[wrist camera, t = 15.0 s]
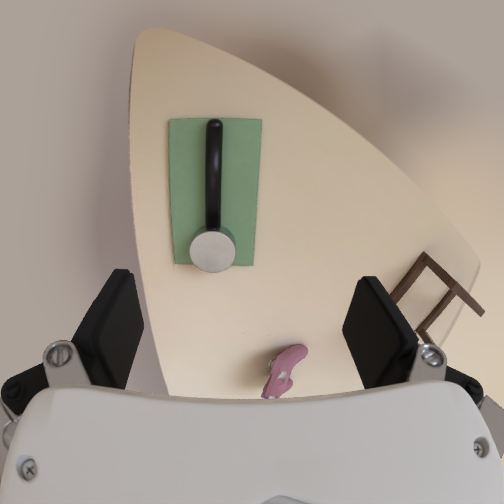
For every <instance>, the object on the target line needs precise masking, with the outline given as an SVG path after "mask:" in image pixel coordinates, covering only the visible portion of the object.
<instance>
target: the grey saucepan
mask: <svg viewBox="0 0 504 504" xmlns="http://www.w3.org/2000/svg"><path fill="white" fill-rule="evenodd" d="M222 144H223V123H222V121H221V120H219V119H217V118H213V119H210V120H209V121H208V122H207V124H206V144H205V226H203V227H201V228H200V229H199V230H197V232H196V233H195V234H194V236H193V239H192V242H191V245H190V257H191V260H192V261H193V263H194V264H195V265H196V266H197V267H198V268H199V269H201V270H203V271H205V272H210V273H217V272H221V271H224V270H226V269H227V268H229V267H230V266H231V265H232V263H233V262H234V259H235V256H236V242H235V238H234V236H233V234H232V233H231V232H230V231H229V230H228V229H227V228H225V227H223V226H221V180H222Z"/></svg>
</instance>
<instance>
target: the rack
mask: <svg viewBox="0 0 504 504" xmlns="http://www.w3.org/2000/svg"><path fill="white" fill-rule="evenodd" d="M426 266H428V267H429V268H430V269H431V270H432V271H433V272H434V273H435V274H436V275H437V276H438V277H439V278H440V279H441V280H442V281H443V282H444V283H445V284H446V285H447V286H448V287H449V288H450V290H449V292H448V293H447V294H446V295H445V297H444V298H443V299H442V300H441V302H440V303H439V304H438V305H437V307H436V308H435V309H434V310H433V311H432V313H431V314H430V315H429V316H428V317H427V318H426V319H425V321H424V322H423V323H422V324H421V325H420V326H419V327H418V328H417V329H416V332H417V333H418V334H419V335H420V337H421V338H422V340H423V341H424V343H425V344H433V345H435V343H434V342H433V340H432V339H431V337H430V336H429V334H428V333H427V332H426V330H427V329H428V328H429V326H430V325H431V324H432V323H433V322H434V321H435V320H436V318H437V317H438V316H439V315H440V314H441V313H442V311H443V310H444V309H445V308H446V307H447V305H448V304H449V303H450V302H451V300H452V299H453V298H454V297H455V295H457V296H458V297H460V298H461V299H462V300H463V301H464V302H465V303H466V304H467V305H468V306H469V307H471V308H472V309H473V310H474V311H475V312H476V313H477V314H478V315H479V316H480V317H481V316H482V315H483V314H484V312H485V311H484V309H482V307H481V306H480V305H479V304H478V303H477V302H476V301H475V300H474V299H473V298H472V297H471V296H470V294H469V293H468V292H467V291H466V290H465V289H464V288H463V287H462V286H461V285H460V284H459V283H458V282H456V281H455V280H454V279H453V278H452V277H451V276H450V275H449V274H448V273H447V272H446V271H445V270H444V269H443V268H442V267H441V266H439V265H438V264H437V263H436V262H435V261H434V260H433V259H432V258H431V257H430V256H428V255H427V254H426V253H425V252H423V253H422V255H421V256H420V257H419V259H418V260H417V261H416V263H415V264H414V265H413V267H412V268H411V269H410V271H409V272H408V273H407V275H406V276H405V277H404V278H403V280H402V281H401V282H400V284H399V285H398V286H397V287H396V288H395V290H394V291H393V292H392V293H391V295H390V297H391V298H392V299H393V301H394V302H395V304H397V302H398V301H399V300H400V299H401V298H402V296H403V295H404V294H405V293H406V292H407V290H408V289H409V288H410V287H411V285H412V284H413V283H414V282H415V280H416V279H417V278H418V276H419V275H420V274H421V273H422V271H423V270H424V269H425V267H426ZM418 345H419V346H421V344H418ZM435 346H436V345H435Z"/></svg>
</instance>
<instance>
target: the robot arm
mask: <svg viewBox="0 0 504 504" xmlns="http://www.w3.org/2000/svg"><path fill="white" fill-rule="evenodd" d="M143 330H144V322H143V317H142V313H141V309H140V304H139V299H138V295H137V290H136V285H135V280H134V275H133V273H130V272H129V270H128V269H115V270H114V271H113V272H112V274H111V276H110V277H109V279H108V280H107V282H106V283H105V285H104V286H103V288H102V290H101V291H100V293H99V295H98V296H97V298H96V299H95V300H94V301H93V303H92V305H91V306H90V308H89V310H88V311H87V313H86V315H85V317H84V318H83V320H82V322H81V324H80V325H79V327H78V329H77V331H76V333H75V334H74V336H73V338H72V340H71V342H70V341H67V340H59V341H56V342H54V343H52V344H50V345H49V346H48V347H47V348H46V350H45V351H44V353H43V363H41V364H39V365H37V366H35V367H33V368H30V369H28V370H26V371H24V372H22V373H20V374H18V375H16V376H13V377H11V378H10V379H8V380H7V381H6V382H5V383H4V385H3V387H2V389H1V397H0V504H504V467H503V464H502V461H501V458H502V456H503V453H504V409H502V407H500V406H499V405H498V404H497V403H496V402H494V401H493V400H492V399H491V398H490V397H488V396H487V395H486V396H485V397H483V389H482V386H481V385H480V383H479V382H478V381H477V380H475V379H474V378H472V377H469V376H468V375H466V374H463V373H461V372H459V371H457V370H455V369H453V368H451V367H449V366H447V358H446V355H445V353H444V352H443V351H442V350H441V349H440V348H439V347H437V346H435V345H433V344H422V345H421V346H419V345H418V343H417V342H418V341H419V339H418V337H417V336H416V334H415V332H414V331H413V329H412V328H411V326H410V325H409V323H408V322H407V320H406V319H405V317H404V316H403V314H402V313H401V311H400V310H399V308H398V307H397V305H396V304H395V302H394V301H393V299H392V298H391V297H390V295H389V294H388V292H387V291H386V289H385V288H384V287H383V285H382V284H381V282H380V281H379V280H378V278H377V277H376V276H363V277H362V278H361V280H358V282H357V285H356V288H355V292H354V295H353V298H352V301H351V304H350V307H349V310H348V313H347V316H346V318H345V321H344V324H343V328H342V331H343V335H344V337H345V340H346V342H347V345H348V347H349V350H350V352H351V355H352V357H353V360H354V362H355V365H356V367H357V370H358V372H359V375H360V378H361V380H362V383H363V385H364V388H365V389H364V390H358V391H352V392H345V393H337V394H328V395H319V396H308V397H295V398H277V399H212V398H193V397H180V396H170V395H160V394H152V393H143V392H135V391H129V390H125V387H126V383H127V380H128V377H129V373H130V370H131V367H132V364H133V360H134V357H135V354H136V351H137V348H138V345H139V342H140V339H141V336H142V333H143Z"/></svg>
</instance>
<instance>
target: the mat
mask: <svg viewBox="0 0 504 504" xmlns="http://www.w3.org/2000/svg"><path fill="white" fill-rule="evenodd" d="M210 119H213V118H189V119H170V120H169V172H170V201H171V220H172V235H173V248H174V259H175V264H194V263H193V261H192V260H191V257H190V245H191V242H192V239H193V236H194V234H195V233H196V232H197V230H199V229H200V228H201V227H203V226H205V144H206V124H207V122H208V121H209V120H210ZM217 119H219V120H221V121H222V123H223V144H222V180H221V226H223V227H225V228H227V229H228V230H229V231H230V232H231V233H232V234H233V236H234V238H235V242H236V256H235V259H234V262H233V263H232V265H246V266H253V260H254V244H255V228H256V212H257V196H258V179H259V163H260V146H261V130H262V120H259V119H236V118H217Z"/></svg>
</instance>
